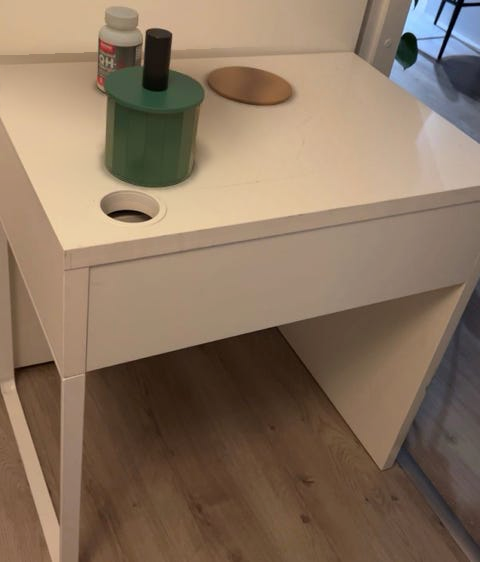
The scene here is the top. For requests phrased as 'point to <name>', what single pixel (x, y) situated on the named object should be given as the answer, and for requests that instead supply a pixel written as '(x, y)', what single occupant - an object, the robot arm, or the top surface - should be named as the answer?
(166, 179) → the tin
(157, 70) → the tin lid
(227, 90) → the cork mat
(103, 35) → the pill bottle
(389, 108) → the top surface
